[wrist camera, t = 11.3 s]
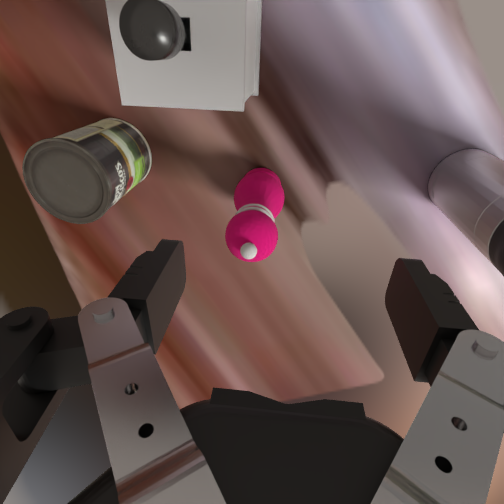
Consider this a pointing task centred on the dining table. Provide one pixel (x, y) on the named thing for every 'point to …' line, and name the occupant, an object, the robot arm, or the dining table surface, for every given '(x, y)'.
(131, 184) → the coffee can
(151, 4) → the grey thin rod
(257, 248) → the pepper mill
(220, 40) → the white cabinet
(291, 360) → the dining table surface
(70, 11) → the dining table surface
